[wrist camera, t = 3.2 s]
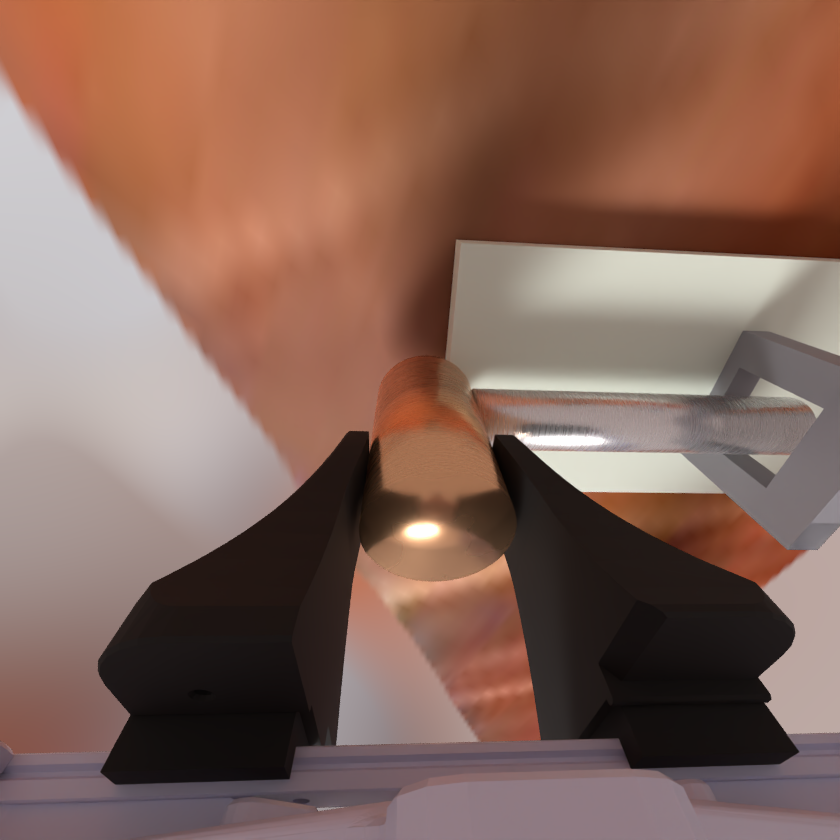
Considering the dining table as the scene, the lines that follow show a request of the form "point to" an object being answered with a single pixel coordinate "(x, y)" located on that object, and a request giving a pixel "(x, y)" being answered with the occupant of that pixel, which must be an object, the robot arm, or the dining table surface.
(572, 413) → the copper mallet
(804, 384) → the eye stand
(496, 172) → the dining table surface
